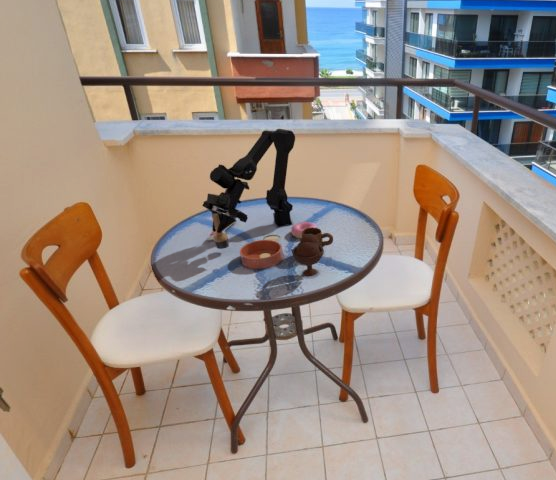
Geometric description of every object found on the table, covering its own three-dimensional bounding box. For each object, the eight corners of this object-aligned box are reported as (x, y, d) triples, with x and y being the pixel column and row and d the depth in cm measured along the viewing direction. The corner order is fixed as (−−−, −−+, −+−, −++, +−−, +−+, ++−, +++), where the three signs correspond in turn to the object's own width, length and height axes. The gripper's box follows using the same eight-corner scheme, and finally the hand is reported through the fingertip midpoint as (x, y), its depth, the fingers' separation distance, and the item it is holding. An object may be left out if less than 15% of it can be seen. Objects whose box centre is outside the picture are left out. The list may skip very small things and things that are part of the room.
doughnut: (313, 227, 181) (312, 218, 178) (321, 237, 173) (320, 228, 170) (288, 231, 177) (287, 222, 175) (295, 242, 169) (294, 233, 166)
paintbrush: (204, 235, 166) (228, 218, 183) (205, 242, 168) (229, 223, 184) (212, 236, 166) (236, 218, 182) (214, 242, 167) (237, 224, 184)
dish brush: (228, 242, 162) (221, 211, 155) (230, 247, 158) (222, 216, 151) (215, 244, 161) (207, 213, 153) (216, 250, 157) (208, 218, 149)
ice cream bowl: (295, 266, 153) (290, 229, 144) (326, 265, 153) (323, 228, 145) (293, 282, 144) (287, 243, 135) (325, 280, 145) (321, 242, 136)
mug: (336, 250, 163) (335, 228, 158) (332, 259, 157) (330, 237, 152) (307, 248, 165) (304, 226, 159) (301, 257, 158) (298, 235, 153)
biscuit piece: (269, 255, 159) (269, 252, 158) (271, 259, 156) (271, 257, 155) (259, 257, 158) (258, 254, 157) (260, 261, 155) (260, 259, 154)
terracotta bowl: (279, 247, 165) (277, 237, 163) (287, 265, 154) (285, 254, 151) (239, 254, 160) (237, 243, 158) (245, 273, 149) (242, 262, 146)
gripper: (200, 179, 153) (182, 217, 152) (234, 189, 145) (216, 229, 143) (222, 193, 163) (205, 229, 162) (255, 203, 155) (238, 241, 153)
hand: (215, 231), depth 155 cm, fingers closed on dish brush, 2 cm apart
